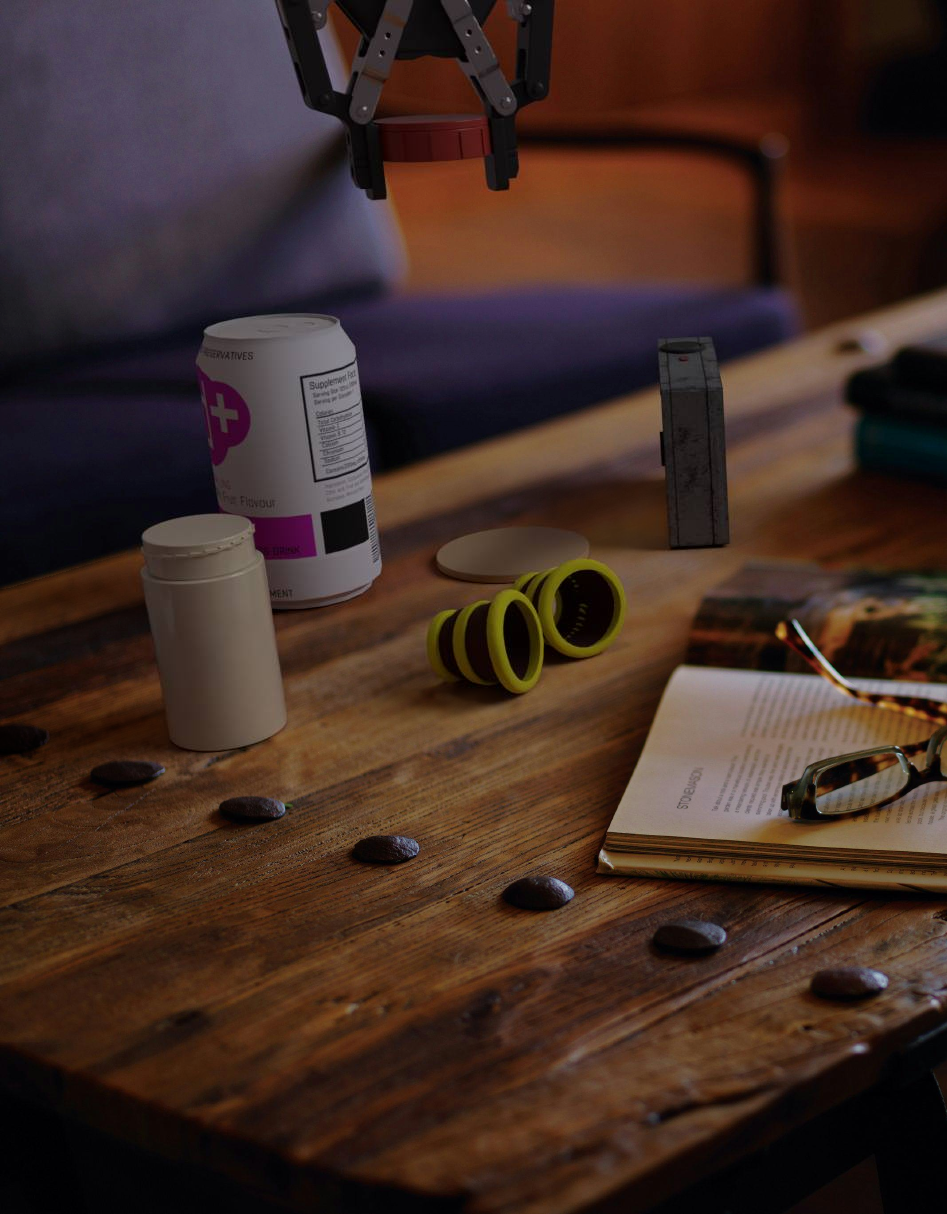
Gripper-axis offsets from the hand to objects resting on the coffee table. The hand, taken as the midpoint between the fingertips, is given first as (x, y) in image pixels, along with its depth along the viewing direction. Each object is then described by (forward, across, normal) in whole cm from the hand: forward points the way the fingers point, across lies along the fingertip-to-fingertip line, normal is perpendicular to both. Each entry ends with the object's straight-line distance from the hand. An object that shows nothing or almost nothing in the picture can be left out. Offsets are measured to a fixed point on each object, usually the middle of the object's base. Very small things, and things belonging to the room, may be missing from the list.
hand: (438, 192), depth 85 cm
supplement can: (+22, -9, +4) cm, 24 cm away
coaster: (+22, +3, +3) cm, 22 cm away
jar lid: (-3, 0, 0) cm, 3 cm away
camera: (+22, +16, +7) cm, 28 cm away
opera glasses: (+22, -1, -13) cm, 26 cm away
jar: (+22, -15, -14) cm, 30 cm away
